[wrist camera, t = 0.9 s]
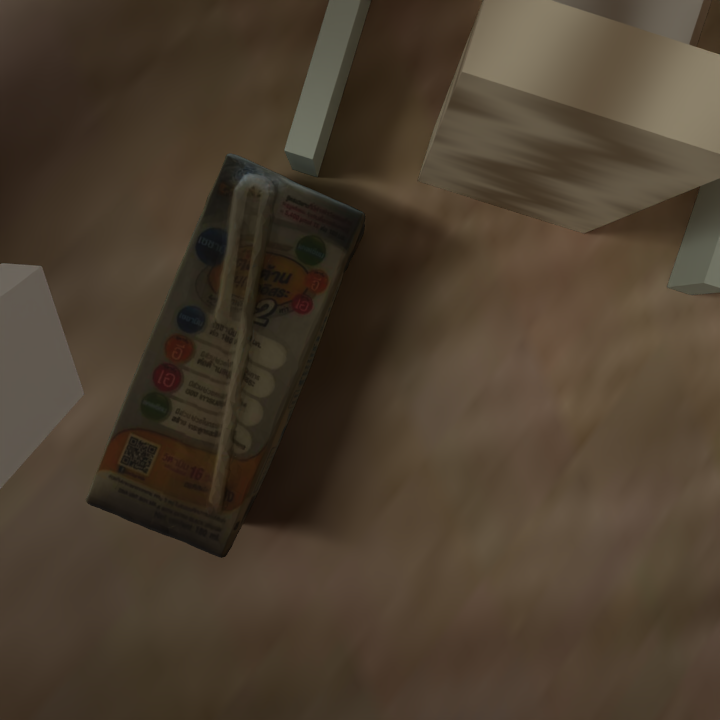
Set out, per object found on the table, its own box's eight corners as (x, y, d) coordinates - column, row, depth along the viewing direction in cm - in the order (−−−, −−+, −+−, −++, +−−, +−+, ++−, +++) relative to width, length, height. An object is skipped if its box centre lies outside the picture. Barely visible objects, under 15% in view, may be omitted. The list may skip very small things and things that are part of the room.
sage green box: (292, 169, 37) (267, 111, 27) (389, -154, 36) (401, -338, 26) (691, 295, 37) (812, 284, 27) (797, -22, 36) (963, -152, 26)
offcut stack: (466, 55, 37) (487, 2, 31) (499, -50, 36) (527, -124, 30) (651, 114, 37) (708, 73, 31) (685, 10, 37) (749, -52, 31)
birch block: (417, 181, 37) (461, 71, 21) (433, 129, 37) (490, -20, 21) (583, 233, 37) (753, 164, 21) (600, 182, 37) (783, 75, 21)
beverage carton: (371, 228, 37) (374, 208, 31) (245, 530, 38) (222, 573, 32) (243, 174, 37) (219, 142, 31) (119, 479, 38) (70, 512, 32)
